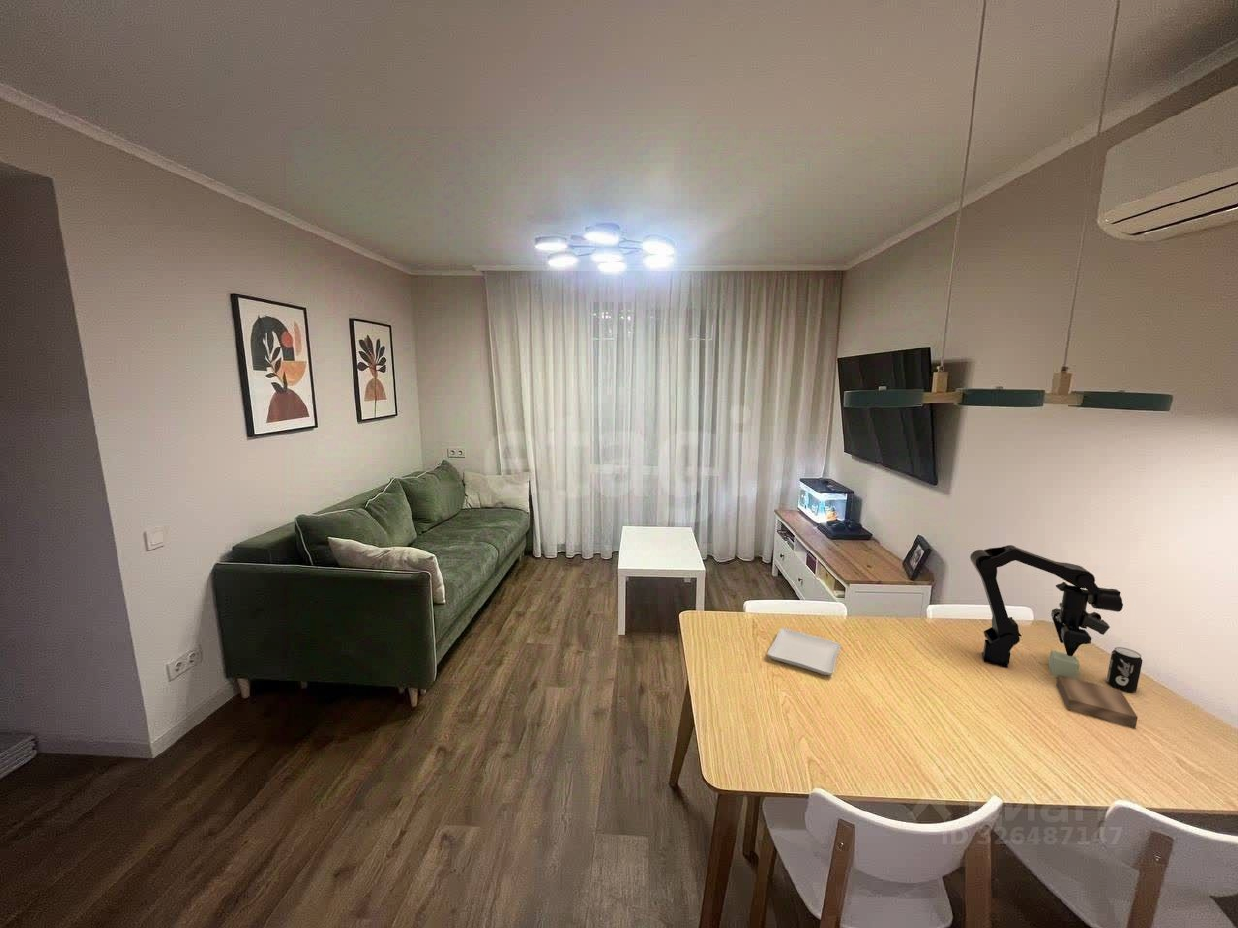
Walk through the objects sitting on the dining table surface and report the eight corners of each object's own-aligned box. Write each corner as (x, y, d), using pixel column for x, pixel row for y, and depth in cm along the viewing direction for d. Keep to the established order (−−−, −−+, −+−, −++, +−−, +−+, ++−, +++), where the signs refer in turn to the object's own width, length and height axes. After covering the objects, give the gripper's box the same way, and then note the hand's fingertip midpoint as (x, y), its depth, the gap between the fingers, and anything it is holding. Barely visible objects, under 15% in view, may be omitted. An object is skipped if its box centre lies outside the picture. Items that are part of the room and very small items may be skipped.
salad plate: (832, 682, 150) (833, 672, 150) (765, 662, 161) (766, 653, 161) (840, 651, 168) (841, 642, 168) (780, 634, 179) (780, 626, 179)
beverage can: (1142, 694, 144) (1149, 658, 142) (1117, 691, 145) (1124, 656, 143) (1124, 681, 150) (1131, 647, 148) (1100, 678, 152) (1106, 645, 150)
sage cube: (1052, 675, 154) (1054, 658, 153) (1048, 666, 159) (1050, 650, 158) (1076, 681, 151) (1080, 664, 150) (1072, 672, 156) (1075, 655, 155)
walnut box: (1066, 711, 137) (1069, 698, 137) (1056, 685, 149) (1058, 674, 148) (1135, 730, 130) (1137, 717, 129) (1118, 701, 141) (1120, 689, 141)
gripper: (1119, 623, 139) (1109, 671, 141) (1099, 600, 154) (1091, 643, 157) (1068, 613, 145) (1060, 659, 147) (1054, 591, 160) (1047, 634, 163)
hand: (1065, 649), depth 153 cm, fingers open, 9 cm apart
